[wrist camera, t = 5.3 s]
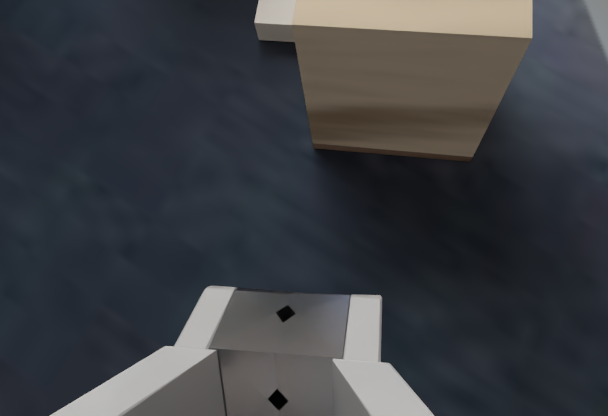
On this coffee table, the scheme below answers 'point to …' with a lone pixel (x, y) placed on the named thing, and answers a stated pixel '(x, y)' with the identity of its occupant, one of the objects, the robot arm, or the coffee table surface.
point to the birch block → (407, 72)
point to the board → (275, 20)
